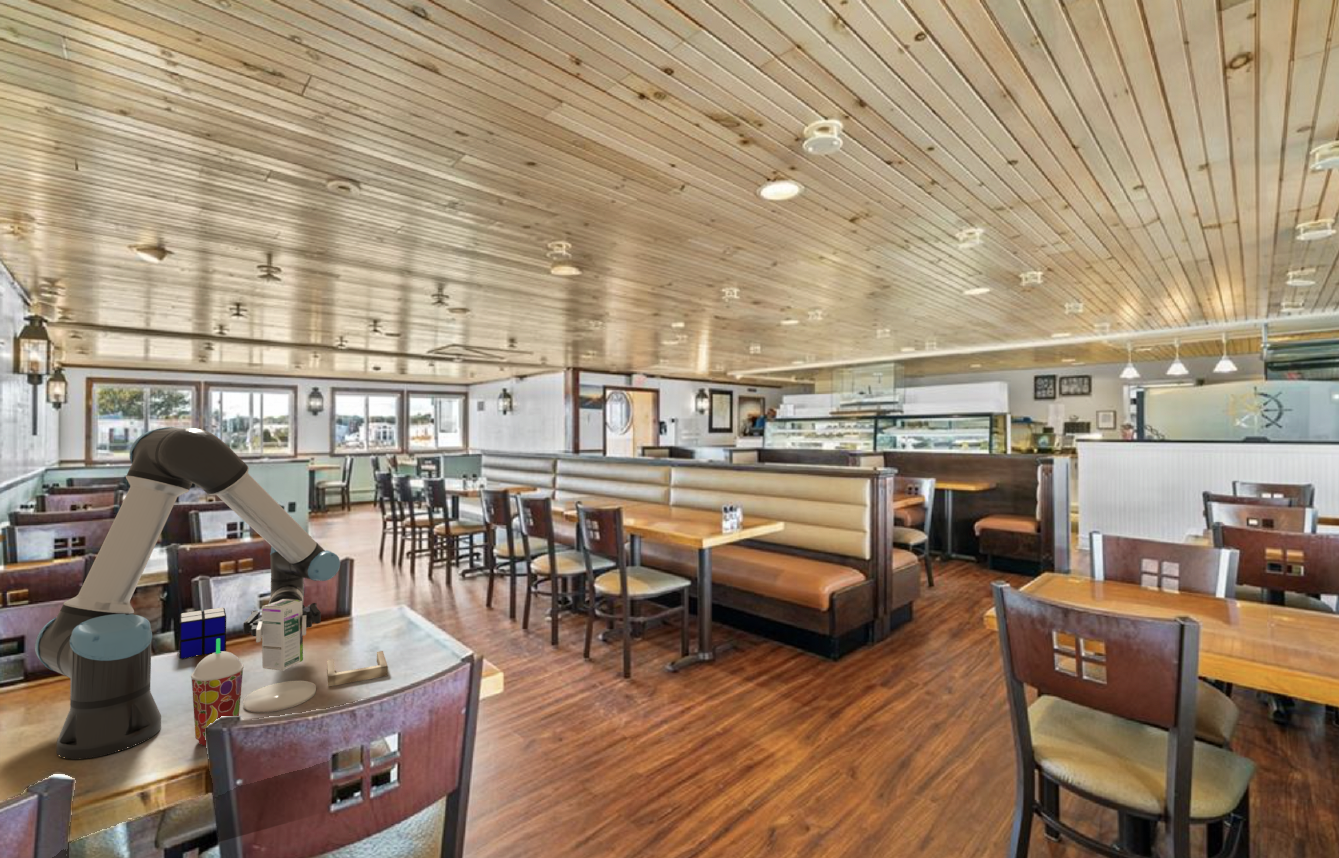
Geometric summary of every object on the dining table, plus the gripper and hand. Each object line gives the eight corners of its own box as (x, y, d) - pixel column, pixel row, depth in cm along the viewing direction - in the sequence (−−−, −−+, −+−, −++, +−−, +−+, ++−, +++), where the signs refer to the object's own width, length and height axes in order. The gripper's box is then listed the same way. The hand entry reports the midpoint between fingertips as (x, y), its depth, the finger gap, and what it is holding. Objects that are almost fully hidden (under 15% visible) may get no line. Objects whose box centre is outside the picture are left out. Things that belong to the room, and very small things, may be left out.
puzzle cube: (179, 660, 158) (179, 622, 158) (179, 649, 166) (179, 613, 166) (226, 651, 164) (226, 615, 164) (224, 641, 172) (224, 606, 172)
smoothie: (201, 731, 121) (202, 633, 121) (249, 725, 124) (250, 630, 124) (181, 753, 113) (183, 648, 113) (233, 746, 116) (234, 644, 116)
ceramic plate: (239, 718, 127) (239, 713, 127) (246, 692, 139) (246, 688, 139) (315, 703, 134) (315, 699, 134) (315, 680, 146) (315, 676, 146)
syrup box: (283, 671, 134) (283, 607, 134) (260, 668, 135) (261, 605, 135) (303, 661, 139) (303, 599, 139) (282, 659, 140) (282, 597, 140)
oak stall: (327, 686, 143) (328, 676, 143) (327, 669, 153) (327, 660, 153) (387, 675, 150) (387, 665, 150) (382, 660, 159) (383, 651, 159)
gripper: (332, 613, 158) (334, 640, 138) (236, 626, 147) (224, 658, 128) (332, 585, 158) (334, 608, 138) (236, 596, 147) (224, 623, 127)
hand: (281, 632), depth 133 cm, fingers closed on syrup box, 8 cm apart
